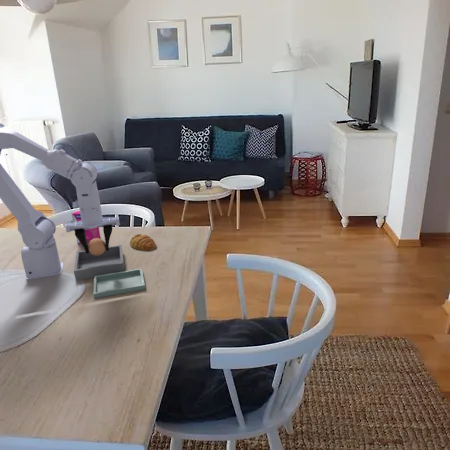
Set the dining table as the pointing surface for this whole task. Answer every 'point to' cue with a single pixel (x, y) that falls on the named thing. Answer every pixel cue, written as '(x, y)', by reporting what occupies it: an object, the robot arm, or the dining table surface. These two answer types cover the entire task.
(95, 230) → the supplement box
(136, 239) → the pastry
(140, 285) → the tray
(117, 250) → the open square box
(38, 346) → the dining table surface
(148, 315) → the dining table surface
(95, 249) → the egg
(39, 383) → the dining table surface
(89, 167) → the robot arm
